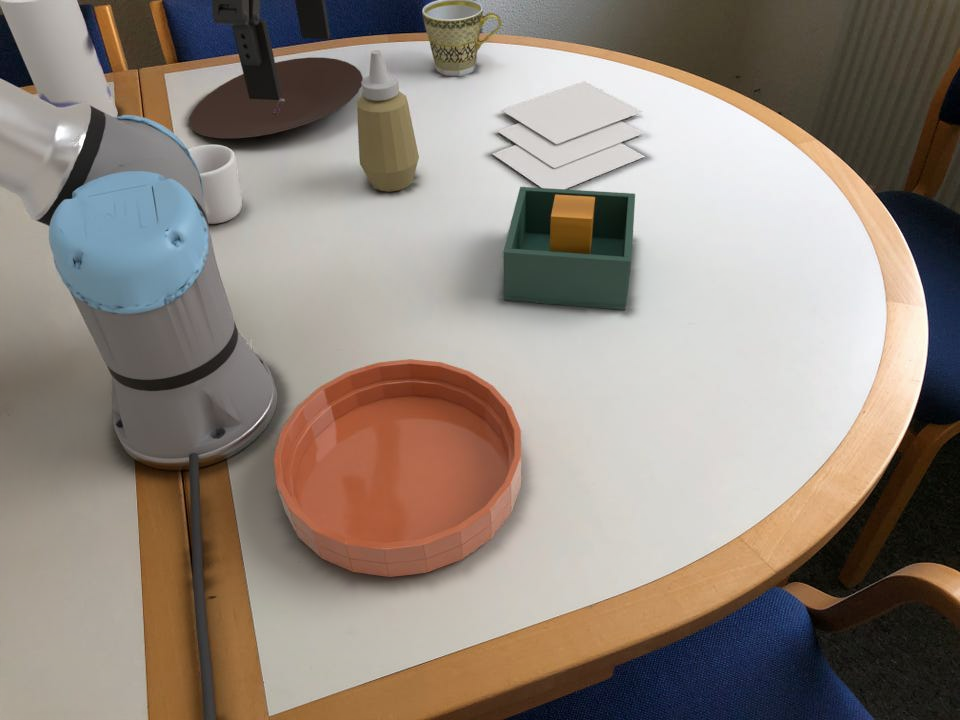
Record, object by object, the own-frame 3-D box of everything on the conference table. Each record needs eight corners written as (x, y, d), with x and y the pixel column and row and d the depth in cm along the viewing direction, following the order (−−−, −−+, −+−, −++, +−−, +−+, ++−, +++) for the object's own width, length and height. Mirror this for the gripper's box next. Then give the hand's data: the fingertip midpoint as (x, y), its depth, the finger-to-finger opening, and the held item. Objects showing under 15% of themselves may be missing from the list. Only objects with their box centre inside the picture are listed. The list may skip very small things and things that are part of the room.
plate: (217, 73, 138) (212, 52, 136) (376, 71, 137) (374, 49, 134) (164, 152, 118) (157, 129, 115) (351, 150, 116) (347, 127, 114)
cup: (224, 245, 99) (207, 189, 94) (166, 240, 101) (146, 184, 95) (258, 200, 107) (244, 145, 102) (204, 195, 108) (187, 141, 103)
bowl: (502, 596, 62) (502, 565, 59) (247, 561, 66) (233, 529, 62) (535, 404, 78) (536, 370, 74) (326, 382, 81) (318, 350, 78)
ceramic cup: (421, 79, 134) (416, 19, 127) (433, 56, 141) (429, -3, 134) (497, 82, 132) (496, 21, 125) (505, 58, 139) (505, -1, 132)
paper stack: (687, 139, 115) (688, 134, 115) (551, 194, 105) (551, 190, 105) (583, 85, 129) (584, 80, 129) (455, 129, 120) (455, 125, 119)
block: (588, 278, 91) (592, 218, 86) (548, 275, 92) (550, 216, 86) (590, 255, 94) (595, 196, 89) (553, 252, 95) (555, 194, 89)
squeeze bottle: (395, 161, 114) (380, 34, 101) (433, 180, 109) (422, 50, 97) (351, 182, 110) (329, 53, 97) (388, 204, 105) (370, 71, 93)
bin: (625, 310, 88) (631, 261, 83) (503, 300, 90) (503, 252, 85) (630, 240, 97) (635, 193, 93) (520, 232, 99) (520, 186, 95)
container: (131, 114, 128) (85, -17, 114) (79, 140, 122) (23, 5, 108) (91, 101, 132) (42, -27, 118) (39, 125, 126) (-19, -7, 112)
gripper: (215, -186, 49) (284, 130, 64) (335, -240, 67) (368, 17, 82) (104, -185, 50) (197, 126, 65) (252, -238, 68) (299, 15, 83)
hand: (292, 65), depth 73 cm, fingers open, 13 cm apart
